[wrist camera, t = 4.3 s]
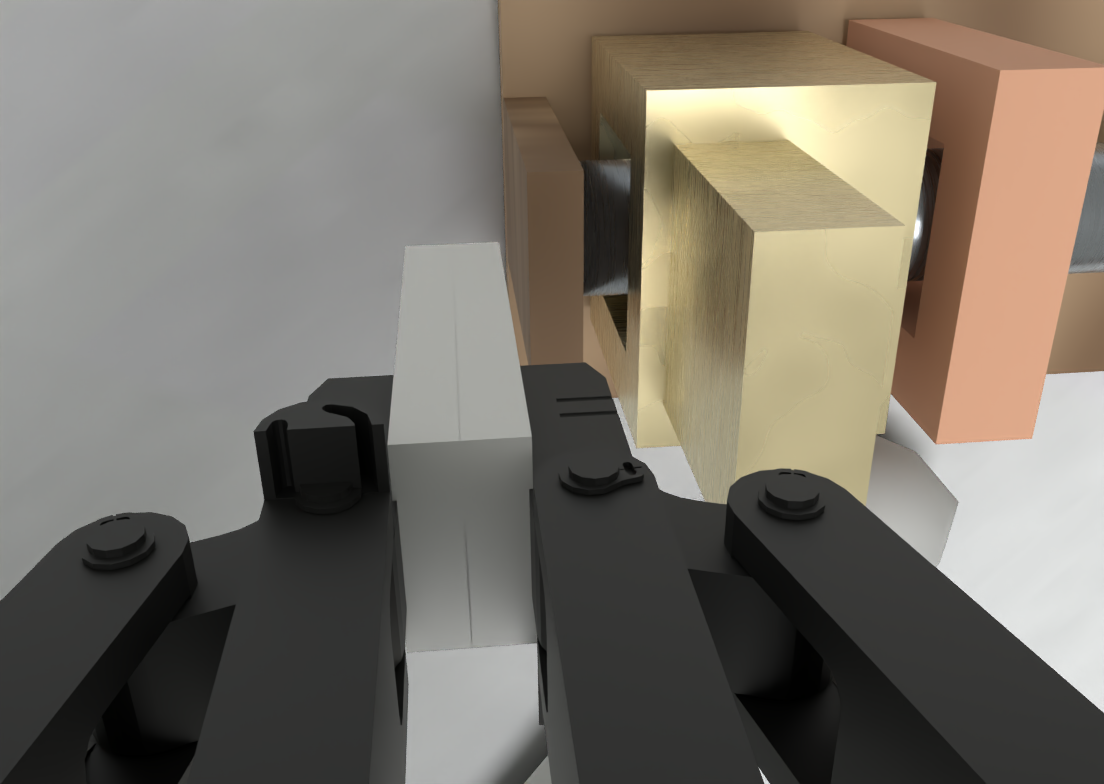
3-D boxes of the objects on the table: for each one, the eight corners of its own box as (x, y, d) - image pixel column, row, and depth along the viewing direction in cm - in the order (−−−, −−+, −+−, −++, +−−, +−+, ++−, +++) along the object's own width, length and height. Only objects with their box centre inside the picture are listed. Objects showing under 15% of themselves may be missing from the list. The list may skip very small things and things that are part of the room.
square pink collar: (817, 311, 27) (935, 444, 21) (848, 19, 24) (1000, 70, 18) (891, 307, 27) (1031, 438, 21) (932, 18, 24) (1112, 67, 18)
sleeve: (590, 317, 26) (693, 607, 16) (592, 36, 23) (720, 163, 13) (782, 308, 27) (1007, 585, 16) (808, 31, 24) (1105, 149, 13)
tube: (847, 423, 26) (348, 1013, 34) (1019, 546, 26) (483, 1107, 34) (828, 371, 31) (398, 894, 39) (973, 475, 31) (515, 977, 39)
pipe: (536, 274, 24) (549, 324, 21) (533, 142, 22) (547, 177, 20) (1390, 236, 26) (1502, 278, 23) (1434, 112, 24) (1559, 141, 22)
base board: (510, 386, 29) (534, 553, 22) (494, -92, 24) (521, -80, 16) (1256, 347, 31) (1505, 488, 24) (1397, -105, 25) (1774, -99, 18)
